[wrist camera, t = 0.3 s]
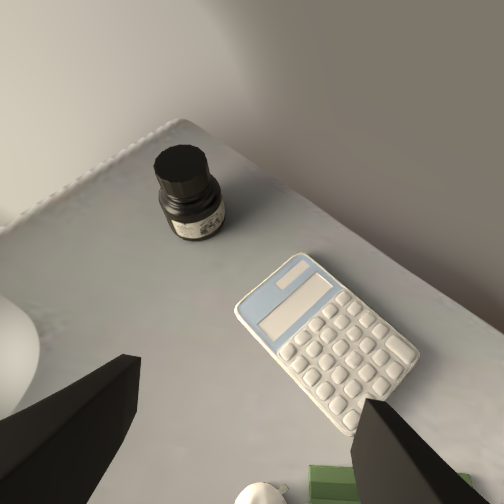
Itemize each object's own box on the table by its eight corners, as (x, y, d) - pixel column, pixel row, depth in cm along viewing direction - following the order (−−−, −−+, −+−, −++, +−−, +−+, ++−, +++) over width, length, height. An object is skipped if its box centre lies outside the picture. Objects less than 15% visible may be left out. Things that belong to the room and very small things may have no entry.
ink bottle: (184, 254, 48) (161, 202, 38) (158, 216, 52) (130, 159, 41) (238, 221, 51) (231, 165, 40) (209, 188, 54) (195, 128, 44)
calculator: (348, 441, 35) (352, 441, 33) (230, 312, 43) (229, 307, 41) (420, 356, 39) (426, 353, 37) (300, 253, 47) (301, 246, 45)
